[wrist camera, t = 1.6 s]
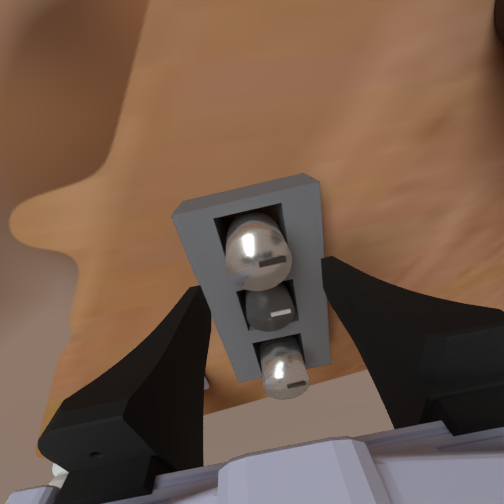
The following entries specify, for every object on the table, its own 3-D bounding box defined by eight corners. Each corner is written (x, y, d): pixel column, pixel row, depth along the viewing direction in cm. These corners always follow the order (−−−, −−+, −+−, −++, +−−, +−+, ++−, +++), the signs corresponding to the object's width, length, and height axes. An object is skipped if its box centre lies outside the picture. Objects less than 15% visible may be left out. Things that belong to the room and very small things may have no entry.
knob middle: (249, 304, 25) (252, 336, 21) (240, 273, 23) (241, 302, 19) (287, 296, 25) (297, 327, 21) (281, 263, 23) (292, 291, 19)
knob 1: (234, 264, 19) (234, 298, 15) (220, 218, 17) (216, 242, 13) (283, 253, 19) (296, 284, 15) (275, 205, 17) (287, 226, 13)
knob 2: (263, 363, 26) (268, 404, 22) (255, 338, 24) (260, 378, 20) (299, 355, 26) (311, 395, 22) (295, 329, 24) (308, 368, 20)
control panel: (238, 353, 29) (238, 382, 26) (182, 201, 19) (170, 216, 16) (318, 336, 29) (330, 363, 25) (303, 173, 19) (319, 181, 16)
